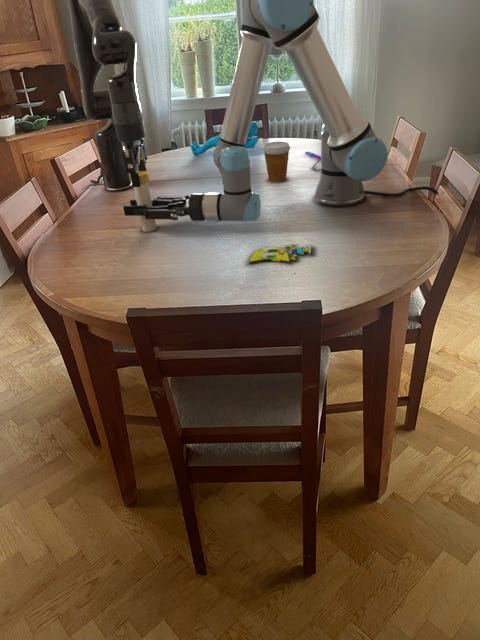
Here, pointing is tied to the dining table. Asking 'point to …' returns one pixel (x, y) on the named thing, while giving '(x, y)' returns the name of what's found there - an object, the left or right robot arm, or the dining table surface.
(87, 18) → the left robot arm
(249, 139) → the toy
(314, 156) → the checkered curved strip
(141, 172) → the lid
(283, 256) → the toy
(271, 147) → the disposable coffee cup
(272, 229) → the dining table surface
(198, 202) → the right robot arm
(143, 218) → the white bottle
